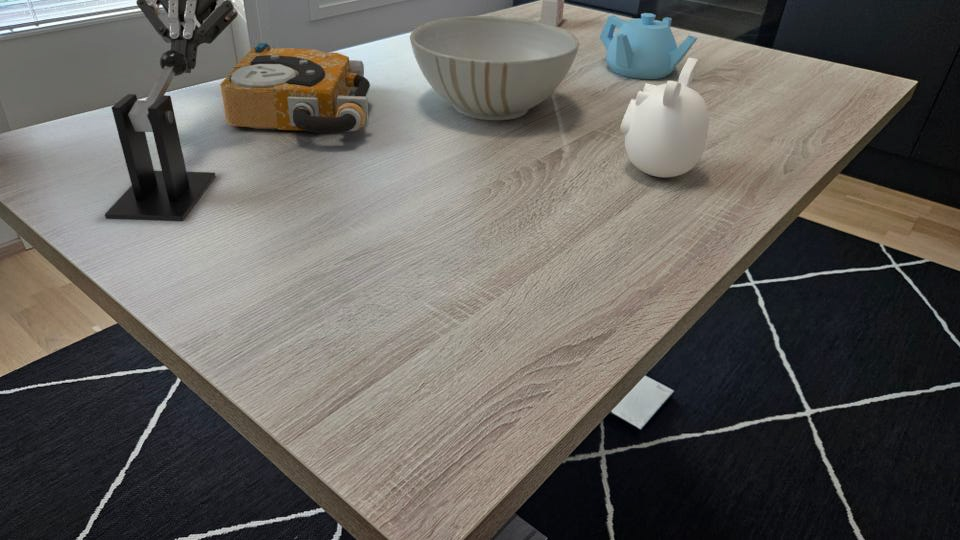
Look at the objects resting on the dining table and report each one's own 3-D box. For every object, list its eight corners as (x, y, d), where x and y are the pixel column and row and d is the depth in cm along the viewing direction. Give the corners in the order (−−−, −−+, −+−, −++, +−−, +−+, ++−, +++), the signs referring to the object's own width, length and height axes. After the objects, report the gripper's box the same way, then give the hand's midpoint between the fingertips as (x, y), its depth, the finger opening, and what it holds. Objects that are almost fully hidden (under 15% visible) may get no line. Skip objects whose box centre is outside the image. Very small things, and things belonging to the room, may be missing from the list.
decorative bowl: (456, 152, 103) (457, 70, 96) (386, 95, 122) (384, 23, 115) (603, 125, 114) (613, 50, 107) (518, 76, 133) (522, 10, 127)
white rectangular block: (540, 26, 165) (544, -19, 160) (547, 20, 171) (551, -24, 165) (555, 28, 164) (559, -17, 159) (562, 21, 170) (566, -22, 164)
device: (384, 41, 121) (359, 100, 96) (386, 88, 125) (362, 156, 100) (252, 36, 120) (192, 94, 95) (258, 83, 125) (202, 151, 100)
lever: (168, 66, 91) (161, 44, 88) (193, 67, 91) (186, 45, 88) (131, 134, 81) (122, 111, 79) (159, 135, 81) (150, 112, 79)
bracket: (147, 178, 92) (124, 82, 85) (216, 180, 92) (198, 85, 85) (106, 223, 82) (76, 118, 75) (184, 225, 82) (160, 121, 75)
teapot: (666, 59, 147) (676, 5, 141) (690, 82, 134) (702, 24, 128) (594, 58, 145) (601, 4, 139) (612, 81, 133) (620, 23, 127)
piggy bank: (614, 151, 105) (629, 50, 97) (694, 159, 103) (716, 58, 95) (613, 188, 95) (630, 78, 86) (701, 197, 93) (727, 87, 85)
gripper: (251, -33, 98) (241, 84, 95) (155, -36, 97) (143, 81, 94) (234, -68, 90) (223, 58, 87) (130, -71, 90) (116, 55, 87)
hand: (181, 70), depth 91 cm, fingers closed
